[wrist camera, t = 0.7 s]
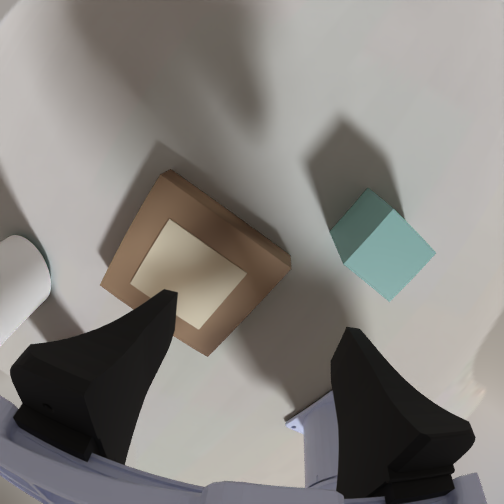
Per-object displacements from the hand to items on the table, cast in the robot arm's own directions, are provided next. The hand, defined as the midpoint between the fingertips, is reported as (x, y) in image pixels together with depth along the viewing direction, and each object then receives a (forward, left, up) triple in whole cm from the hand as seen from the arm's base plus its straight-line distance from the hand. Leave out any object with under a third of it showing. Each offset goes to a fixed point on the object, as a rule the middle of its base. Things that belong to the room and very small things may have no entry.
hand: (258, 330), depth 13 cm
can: (+16, +16, -10) cm, 25 cm away
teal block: (-5, -5, -10) cm, 12 cm away
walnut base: (+3, +5, -10) cm, 11 cm away
